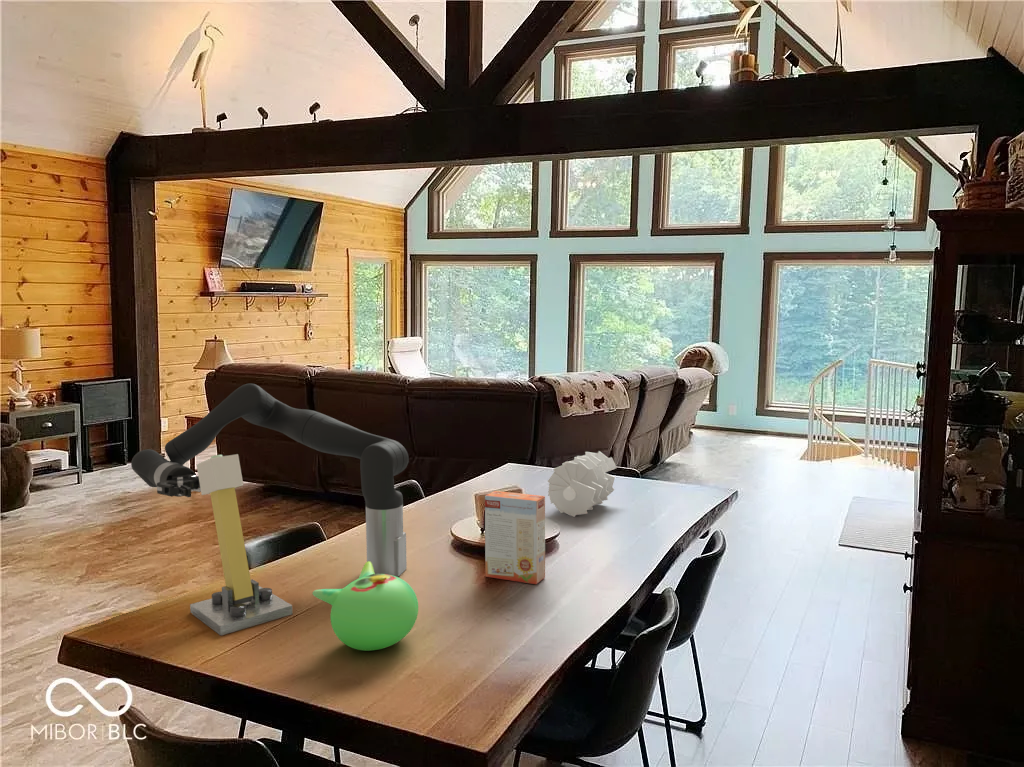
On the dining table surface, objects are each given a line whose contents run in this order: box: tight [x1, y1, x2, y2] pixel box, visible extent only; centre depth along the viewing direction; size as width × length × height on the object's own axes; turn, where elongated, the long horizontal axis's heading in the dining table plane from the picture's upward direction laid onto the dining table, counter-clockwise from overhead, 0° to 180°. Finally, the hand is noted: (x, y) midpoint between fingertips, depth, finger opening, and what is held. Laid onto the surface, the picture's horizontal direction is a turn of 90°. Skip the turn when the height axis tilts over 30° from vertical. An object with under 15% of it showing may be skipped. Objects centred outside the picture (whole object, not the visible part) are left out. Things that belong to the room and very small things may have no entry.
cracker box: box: [484, 490, 546, 585], centre depth 192 cm, size 14×6×21 cm, turn 65°
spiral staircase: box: [547, 450, 618, 518], centre depth 255 cm, size 18×18×25 cm
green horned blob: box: [312, 561, 419, 652], centre depth 156 cm, size 18×17×15 cm
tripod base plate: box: [189, 578, 294, 636], centre depth 171 cm, size 16×16×6 cm
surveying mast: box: [196, 453, 253, 605], centre depth 173 cm, size 9×6×33 cm, turn 43°
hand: (201, 490), depth 183 cm, fingers open, 5 cm apart
